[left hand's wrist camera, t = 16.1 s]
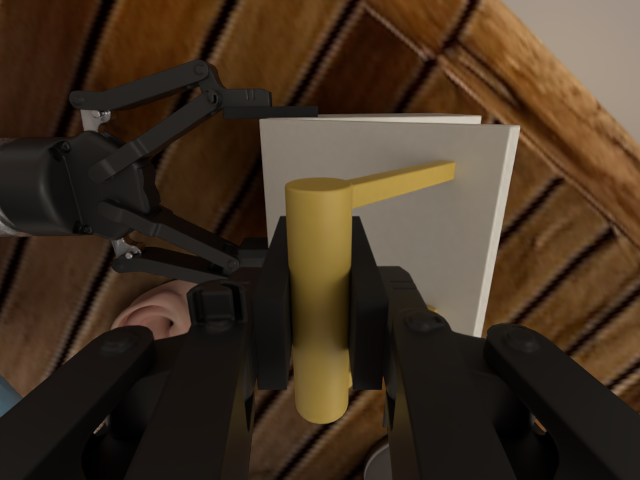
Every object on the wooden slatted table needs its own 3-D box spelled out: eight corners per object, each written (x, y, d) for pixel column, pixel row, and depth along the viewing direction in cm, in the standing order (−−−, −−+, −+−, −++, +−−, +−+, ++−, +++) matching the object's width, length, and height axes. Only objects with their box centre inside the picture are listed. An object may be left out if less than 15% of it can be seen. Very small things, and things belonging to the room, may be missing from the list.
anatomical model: (229, 301, 34) (230, 391, 38) (238, 282, 38) (238, 366, 42) (91, 292, 33) (108, 384, 38) (114, 274, 37) (127, 359, 41)
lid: (521, 124, 12) (357, 145, 7) (478, 354, 16) (348, 490, 10) (270, 118, 22) (126, 124, 17) (278, 257, 26) (162, 298, 20)
